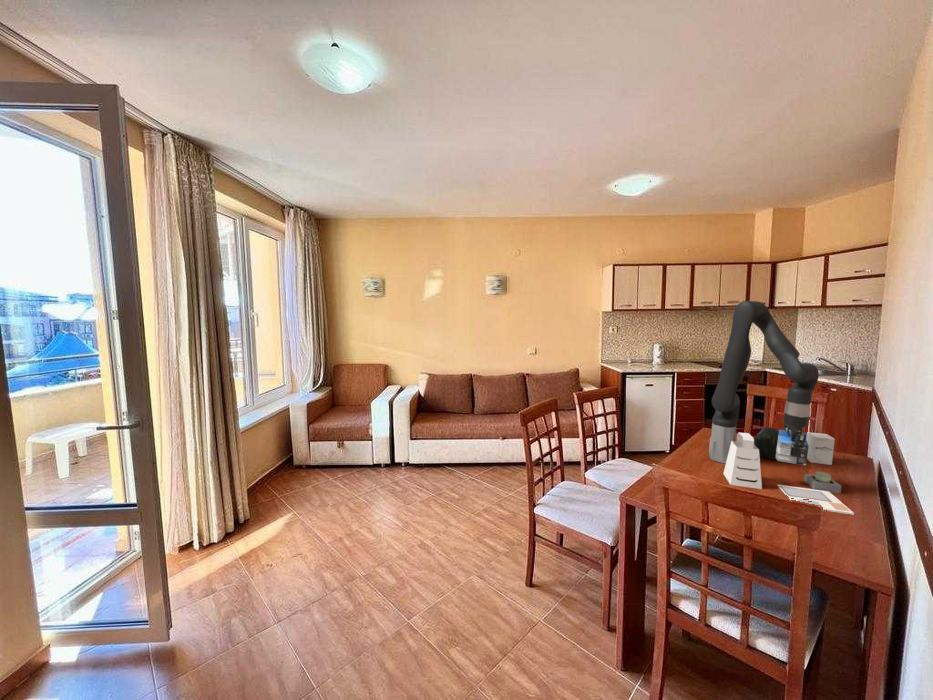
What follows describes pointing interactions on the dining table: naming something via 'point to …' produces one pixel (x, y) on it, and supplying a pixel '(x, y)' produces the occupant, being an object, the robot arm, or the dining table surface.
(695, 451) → the dining table surface
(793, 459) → the label tape box
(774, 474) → the dining table surface
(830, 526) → the dining table surface
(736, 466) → the grater
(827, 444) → the supplement box
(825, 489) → the button housing
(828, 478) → the button
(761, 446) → the squash
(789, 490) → the picture board
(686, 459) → the dining table surface
